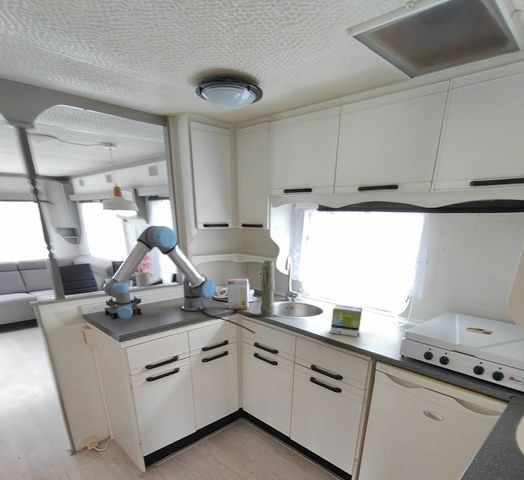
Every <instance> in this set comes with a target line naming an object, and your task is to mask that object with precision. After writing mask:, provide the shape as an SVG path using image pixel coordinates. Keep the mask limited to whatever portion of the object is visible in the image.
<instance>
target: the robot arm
mask: <svg viewBox="0 0 524 480" xmlns="http://www.w3.org/2000/svg"><path fill="white" fill-rule="evenodd" d="M154 248H157V250H159V252H160V253H161V254H162V255H164V256H165V255H166V256H167V257H168V258H169V259H170V261H171V262H172V263H173V264H174V265H175V266H176V268H177V269H178V271H180V272H181V274H182V275H183V278H182V287H183V288H182V289H183V301H182V306H181V307H182V308H181V309H182V310H183V311H186V312H201V313H203V314H204V315H206V316H208V317H212V318H215V319H219V320H222V321H225V322H228V323H230V324H234V325H236V326H238V327H241V328H243V329H245V330H247V331H248V332H250V333H252V334H253V335H255V334H256V332H255V331H254V330H252V329H249V328H248V327H247V326H244V325H242V324H239V323H238V322H234V321H232V320H229V319H226V318H222V317H219V316H216V315H212V314H209V313H207V312H205V311H204V310H205V303H204V301H203V299H210V298H212V297H213V296H214V294H215V292H216V285H215V282H213V281H212V280H209V279H208V278H207V277H206V276H205V274H204V273H200V272H199V270H198V269H197V268H196V266H194V264H193V263H192V261H191V260H190V259H189V258H188V257H187V255H186V254H185V252H184V251H183V250H182V249H181V248H180V246H179V241H178V239H177V234H176V232H175V231H174V230H173V229H172V228H171V227H169V226H165V225H150V226H148V227H146V228H145V229H144V230H143V231H142V232H141V233H140V235H139V236H138V238H136V240H135V245H134V247H133V248H132V249H131V251H130V252H129V254H128V255H127V256H126V258H125V260H124V261H123V263H122V264H121V265H120V266H119V268H118V270H117V271H116V272H115V274H114V275H113V277H112V278H111V279H110V280H109V282H106V283H104V284H103V288H102V289H103V290H102V291H103V292H104V293H105V294H106V295H107V296H109V297H110V299H108V300H105V305H106V306H107V307H112V308H114V307H115V306H117V310H118V311H117V312H118V314H117V315H118V317H119V318H120V319H122V320H129V319H131V318H132V317H133V313H134V311H133V312H132V305H134V306H137V307H138V305H139V304H141V303H142V298H140V297H139V298H138V297H136V296H135V295H134V296H133V299H131V294H130V286H129V284H128V281H129V280H130V279H131V277H132V276H133V274H134V272H135V271H136V270H137V269H138V267H139V266H140V264H141V263H142V261H143V260H144V258H145V257H146V255H147V254H148V253H151V252H152V250H153V249H154ZM114 299H115V300H114Z"/></svg>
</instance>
